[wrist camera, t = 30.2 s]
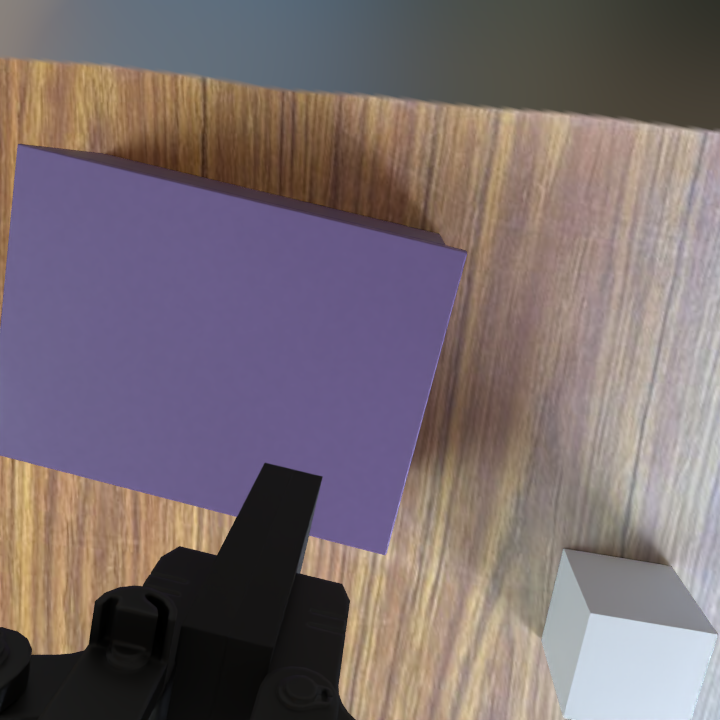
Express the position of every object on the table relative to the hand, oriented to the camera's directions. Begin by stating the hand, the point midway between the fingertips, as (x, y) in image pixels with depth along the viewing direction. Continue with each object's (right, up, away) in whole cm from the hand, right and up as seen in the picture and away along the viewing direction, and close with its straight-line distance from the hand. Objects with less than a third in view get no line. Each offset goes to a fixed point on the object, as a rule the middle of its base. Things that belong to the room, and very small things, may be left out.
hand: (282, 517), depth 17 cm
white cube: (+16, -10, +21) cm, 28 cm away
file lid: (-4, +4, +12) cm, 13 cm away
